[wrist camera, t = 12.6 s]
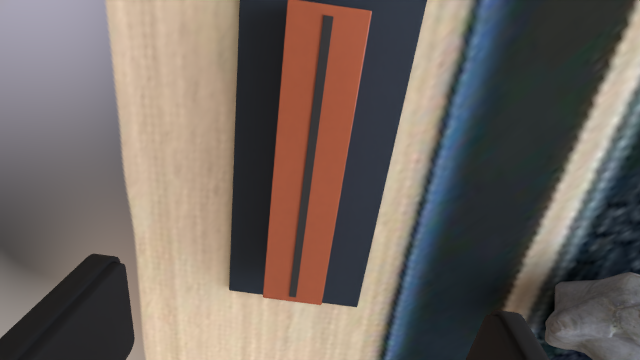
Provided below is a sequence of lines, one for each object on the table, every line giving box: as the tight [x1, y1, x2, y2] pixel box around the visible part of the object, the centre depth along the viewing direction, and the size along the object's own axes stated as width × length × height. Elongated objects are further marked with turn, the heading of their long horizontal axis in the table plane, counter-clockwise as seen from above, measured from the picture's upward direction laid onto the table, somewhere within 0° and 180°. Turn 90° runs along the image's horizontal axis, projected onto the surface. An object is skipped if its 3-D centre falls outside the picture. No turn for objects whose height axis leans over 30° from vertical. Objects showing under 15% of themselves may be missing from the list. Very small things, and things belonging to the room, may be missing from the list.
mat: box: [229, 0, 427, 307], centre depth 25 cm, size 26×11×1 cm, turn 172°
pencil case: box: [263, 0, 372, 305], centre depth 23 cm, size 19×4×4 cm, turn 173°
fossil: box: [545, 272, 640, 360], centre depth 25 cm, size 11×9×8 cm
